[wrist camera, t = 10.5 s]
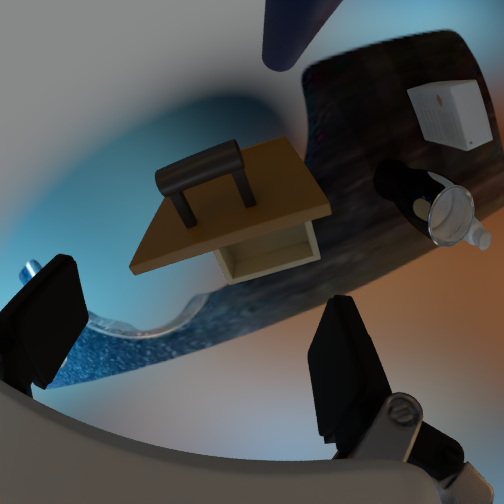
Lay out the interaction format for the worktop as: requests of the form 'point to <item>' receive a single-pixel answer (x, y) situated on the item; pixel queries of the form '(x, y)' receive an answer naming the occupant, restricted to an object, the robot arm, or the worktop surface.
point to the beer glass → (427, 201)
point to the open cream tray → (268, 252)
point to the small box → (452, 113)
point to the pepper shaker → (478, 235)
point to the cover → (227, 201)
